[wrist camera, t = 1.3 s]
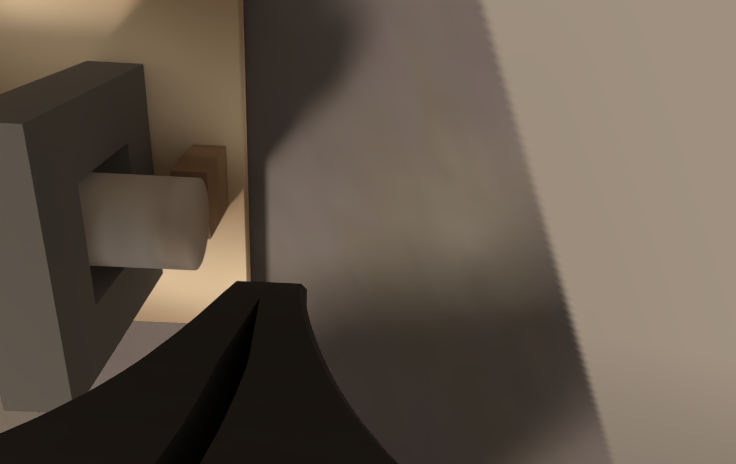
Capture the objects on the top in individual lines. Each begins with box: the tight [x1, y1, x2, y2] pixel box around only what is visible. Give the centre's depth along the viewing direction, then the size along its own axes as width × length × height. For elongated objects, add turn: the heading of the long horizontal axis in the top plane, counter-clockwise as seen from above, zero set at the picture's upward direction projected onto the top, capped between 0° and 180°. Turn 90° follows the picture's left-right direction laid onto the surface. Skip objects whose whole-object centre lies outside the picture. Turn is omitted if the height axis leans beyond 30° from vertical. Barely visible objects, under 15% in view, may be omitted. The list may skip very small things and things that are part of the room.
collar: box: [0, 61, 163, 412], centre depth 16 cm, size 7×2×7 cm, turn 177°
